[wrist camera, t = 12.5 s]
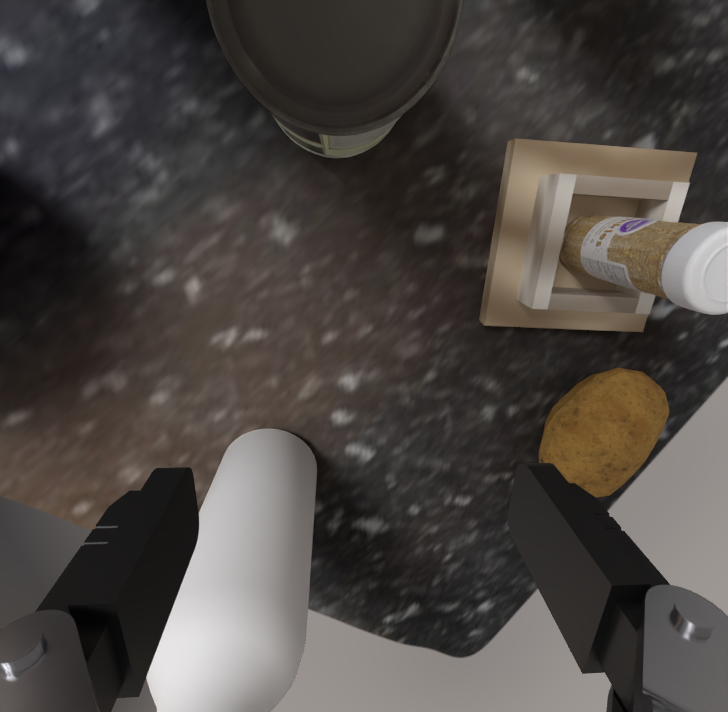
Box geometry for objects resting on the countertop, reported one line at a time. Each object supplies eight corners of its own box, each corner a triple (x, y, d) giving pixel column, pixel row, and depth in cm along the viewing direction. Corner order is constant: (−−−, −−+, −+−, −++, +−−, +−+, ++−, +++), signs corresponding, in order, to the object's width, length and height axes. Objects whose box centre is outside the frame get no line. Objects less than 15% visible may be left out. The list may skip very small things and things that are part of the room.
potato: (503, 450, 42) (534, 496, 35) (577, 337, 38) (627, 366, 31) (578, 480, 44) (620, 529, 37) (656, 376, 40) (718, 410, 33)
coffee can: (255, 144, 31) (194, 105, 18) (270, -30, 27) (209, -239, 14) (392, 173, 32) (431, 156, 19) (423, 10, 29) (498, -148, 15)
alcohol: (204, 462, 40) (-103, 1085, 12) (271, 405, 38) (95, 974, 10) (271, 516, 43) (149, 1127, 15) (336, 465, 41) (338, 1045, 13)
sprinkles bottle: (593, 200, 32) (758, 202, 20) (622, 246, 34) (794, 275, 21) (544, 241, 33) (672, 269, 21) (574, 284, 34) (711, 334, 22)
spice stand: (507, 141, 32) (533, 132, 28) (682, 154, 33) (732, 148, 29) (478, 320, 37) (497, 336, 32) (631, 327, 38) (668, 343, 34)
